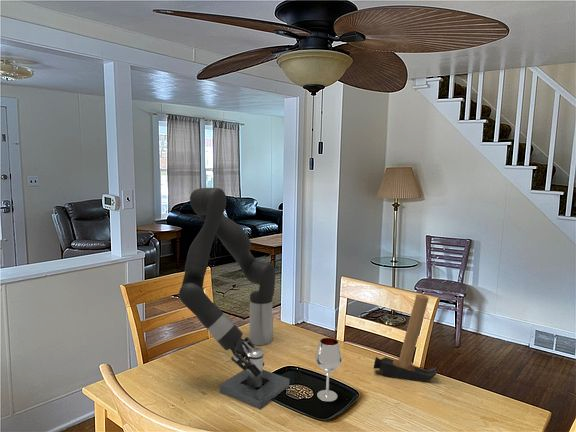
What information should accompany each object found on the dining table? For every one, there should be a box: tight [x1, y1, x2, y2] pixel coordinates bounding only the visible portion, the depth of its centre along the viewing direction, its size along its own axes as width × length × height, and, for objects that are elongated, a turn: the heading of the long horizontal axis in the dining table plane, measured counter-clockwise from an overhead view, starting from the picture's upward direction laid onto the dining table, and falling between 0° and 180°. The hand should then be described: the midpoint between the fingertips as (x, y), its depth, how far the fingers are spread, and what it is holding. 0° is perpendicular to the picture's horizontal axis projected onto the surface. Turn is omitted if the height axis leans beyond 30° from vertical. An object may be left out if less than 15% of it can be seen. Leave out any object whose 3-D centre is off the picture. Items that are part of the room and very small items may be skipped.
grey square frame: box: [219, 369, 290, 410], centre depth 134 cm, size 16×16×2 cm
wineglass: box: [315, 337, 343, 402], centre depth 130 cm, size 8×8×18 cm
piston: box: [247, 347, 264, 389], centre depth 133 cm, size 5×5×11 cm
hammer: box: [373, 294, 437, 383], centre depth 143 cm, size 20×5×30 cm, turn 76°
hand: (260, 370), depth 133 cm, fingers closed on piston, 5 cm apart
